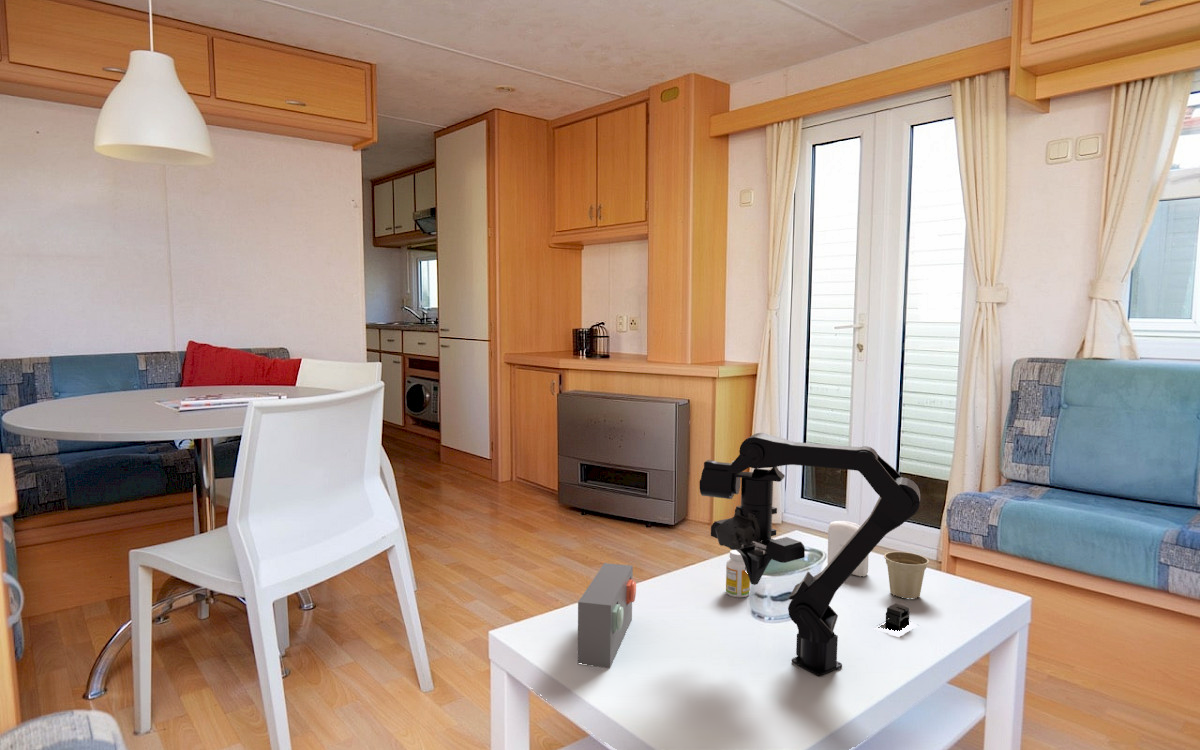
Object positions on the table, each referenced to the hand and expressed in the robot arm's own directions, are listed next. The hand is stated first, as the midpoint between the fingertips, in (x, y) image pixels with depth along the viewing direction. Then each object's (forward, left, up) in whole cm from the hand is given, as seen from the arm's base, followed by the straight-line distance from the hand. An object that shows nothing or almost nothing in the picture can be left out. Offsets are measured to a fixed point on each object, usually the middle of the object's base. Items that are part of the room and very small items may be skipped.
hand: (754, 584), depth 131 cm
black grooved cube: (-8, -33, -14) cm, 37 cm away
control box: (+18, +21, -13) cm, 31 cm away
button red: (+22, +15, -7) cm, 27 cm away
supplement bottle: (+22, -18, -13) cm, 31 cm away
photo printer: (+18, -52, -13) cm, 57 cm away
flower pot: (+1, -50, -13) cm, 52 cm away
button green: (+13, +24, -7) cm, 28 cm away
